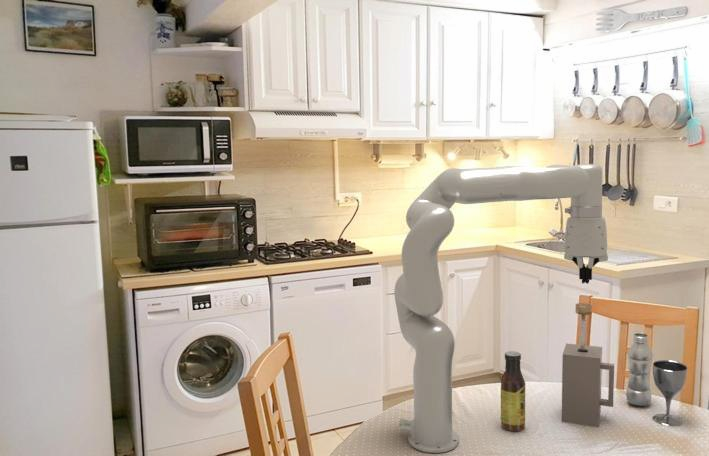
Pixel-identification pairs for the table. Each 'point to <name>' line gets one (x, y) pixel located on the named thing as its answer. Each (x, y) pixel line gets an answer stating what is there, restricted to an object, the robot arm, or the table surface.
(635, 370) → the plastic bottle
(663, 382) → the wine glass
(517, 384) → the sauce bottle
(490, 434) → the table surface
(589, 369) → the press pot
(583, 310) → the plunger
